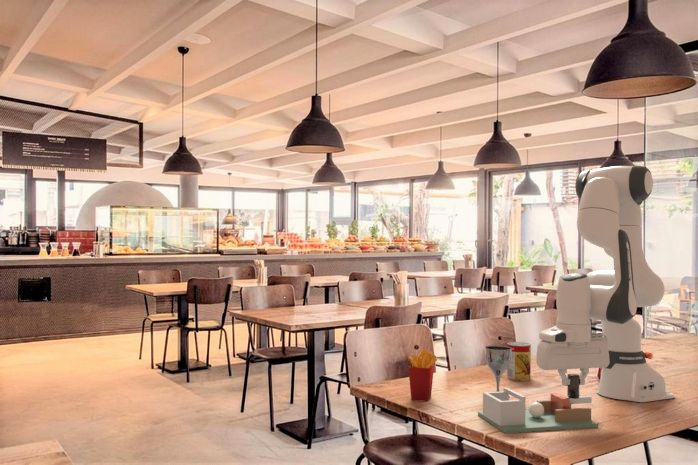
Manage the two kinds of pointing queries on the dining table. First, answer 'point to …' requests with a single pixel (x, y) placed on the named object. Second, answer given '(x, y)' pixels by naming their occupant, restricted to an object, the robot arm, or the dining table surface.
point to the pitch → (518, 419)
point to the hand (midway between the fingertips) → (573, 384)
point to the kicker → (569, 395)
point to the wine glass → (498, 360)
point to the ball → (536, 409)
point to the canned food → (519, 361)
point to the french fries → (421, 375)
